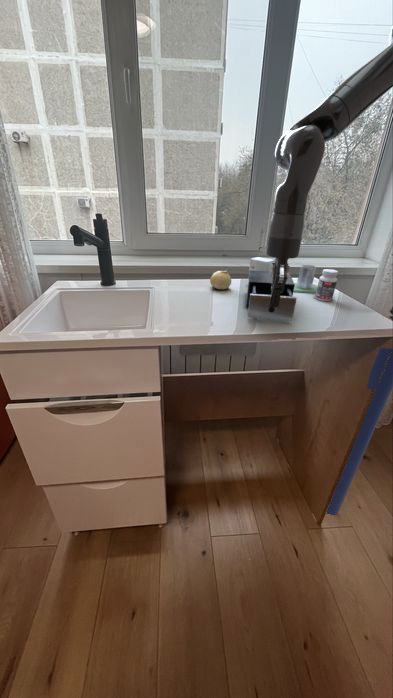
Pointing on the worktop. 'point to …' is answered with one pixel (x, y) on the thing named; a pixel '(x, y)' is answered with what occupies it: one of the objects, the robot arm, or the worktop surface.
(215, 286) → the onion
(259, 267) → the small box
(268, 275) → the box
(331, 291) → the pill bottle
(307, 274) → the steel tumbler
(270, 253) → the robot arm
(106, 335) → the worktop surface
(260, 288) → the drawer
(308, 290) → the drying pad
